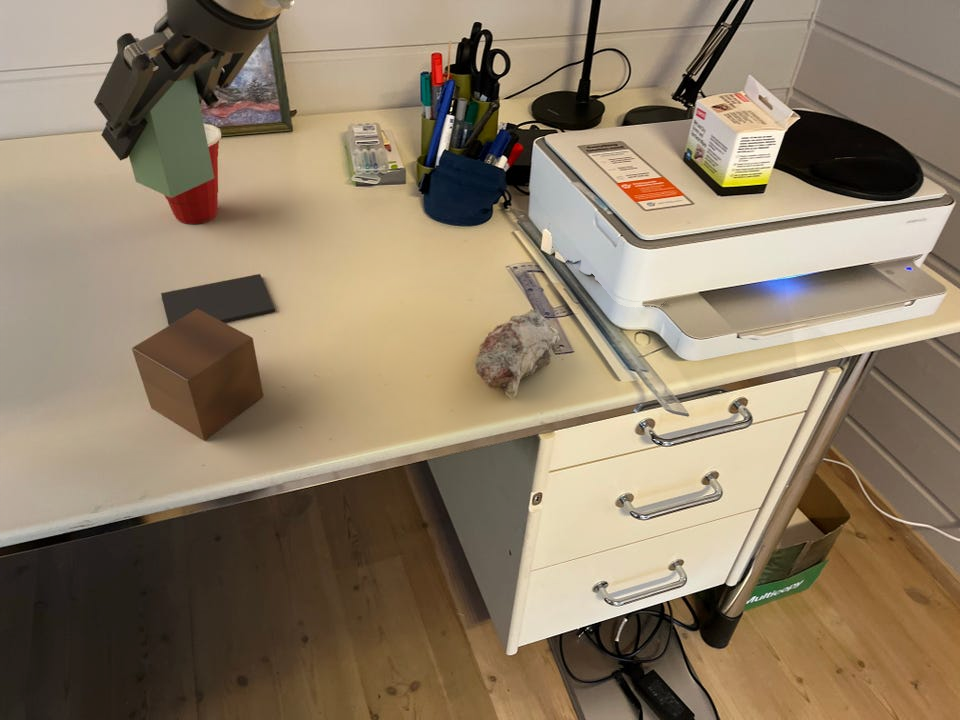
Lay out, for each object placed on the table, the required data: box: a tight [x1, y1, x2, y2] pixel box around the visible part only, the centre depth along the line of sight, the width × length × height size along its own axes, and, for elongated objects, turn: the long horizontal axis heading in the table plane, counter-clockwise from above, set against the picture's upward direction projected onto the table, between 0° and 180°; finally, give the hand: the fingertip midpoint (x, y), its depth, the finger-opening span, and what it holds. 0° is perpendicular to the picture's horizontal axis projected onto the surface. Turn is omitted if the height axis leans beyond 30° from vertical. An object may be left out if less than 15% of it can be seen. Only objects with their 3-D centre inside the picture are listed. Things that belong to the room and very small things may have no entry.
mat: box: [160, 273, 276, 326], centre depth 91 cm, size 12×8×1 cm, turn 115°
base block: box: [131, 309, 264, 442], centre depth 76 cm, size 8×8×8 cm
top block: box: [128, 73, 214, 198], centre depth 67 cm, size 5×5×10 cm
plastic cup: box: [164, 123, 222, 225], centre depth 103 cm, size 11×11×12 cm
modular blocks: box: [540, 228, 567, 263], centre depth 100 cm, size 20×7×4 cm, turn 44°
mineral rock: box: [474, 308, 561, 400], centre depth 84 cm, size 15×8×4 cm, turn 142°
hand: (141, 136), depth 70 cm, fingers closed on top block, 5 cm apart
